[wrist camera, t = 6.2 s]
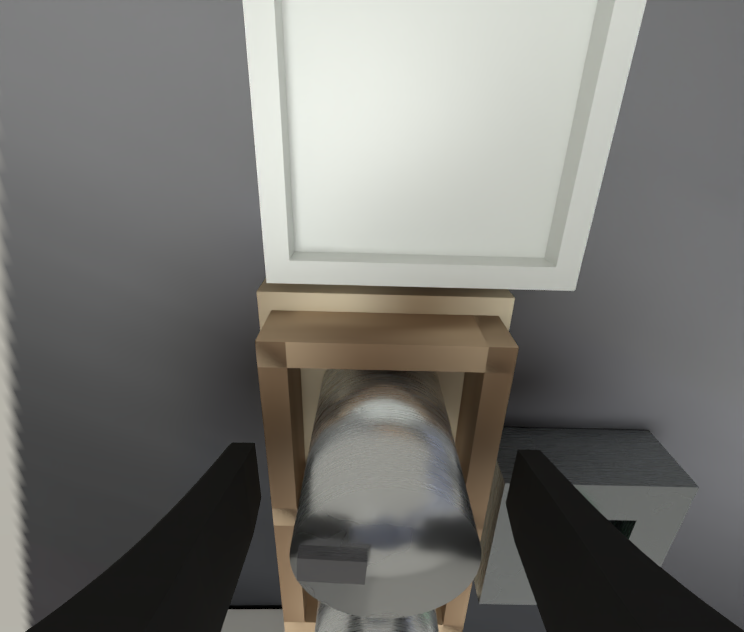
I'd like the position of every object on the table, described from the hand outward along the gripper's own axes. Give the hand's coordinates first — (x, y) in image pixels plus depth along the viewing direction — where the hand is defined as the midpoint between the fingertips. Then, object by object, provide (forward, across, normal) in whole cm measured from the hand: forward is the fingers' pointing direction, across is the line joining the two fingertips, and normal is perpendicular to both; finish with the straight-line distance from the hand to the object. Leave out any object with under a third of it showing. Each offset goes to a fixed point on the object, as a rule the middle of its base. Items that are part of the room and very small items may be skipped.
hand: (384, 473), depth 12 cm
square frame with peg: (+4, -7, +5) cm, 10 cm away
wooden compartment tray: (+4, 0, +3) cm, 5 cm away
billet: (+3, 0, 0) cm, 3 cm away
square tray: (+4, -1, -9) cm, 10 cm away
